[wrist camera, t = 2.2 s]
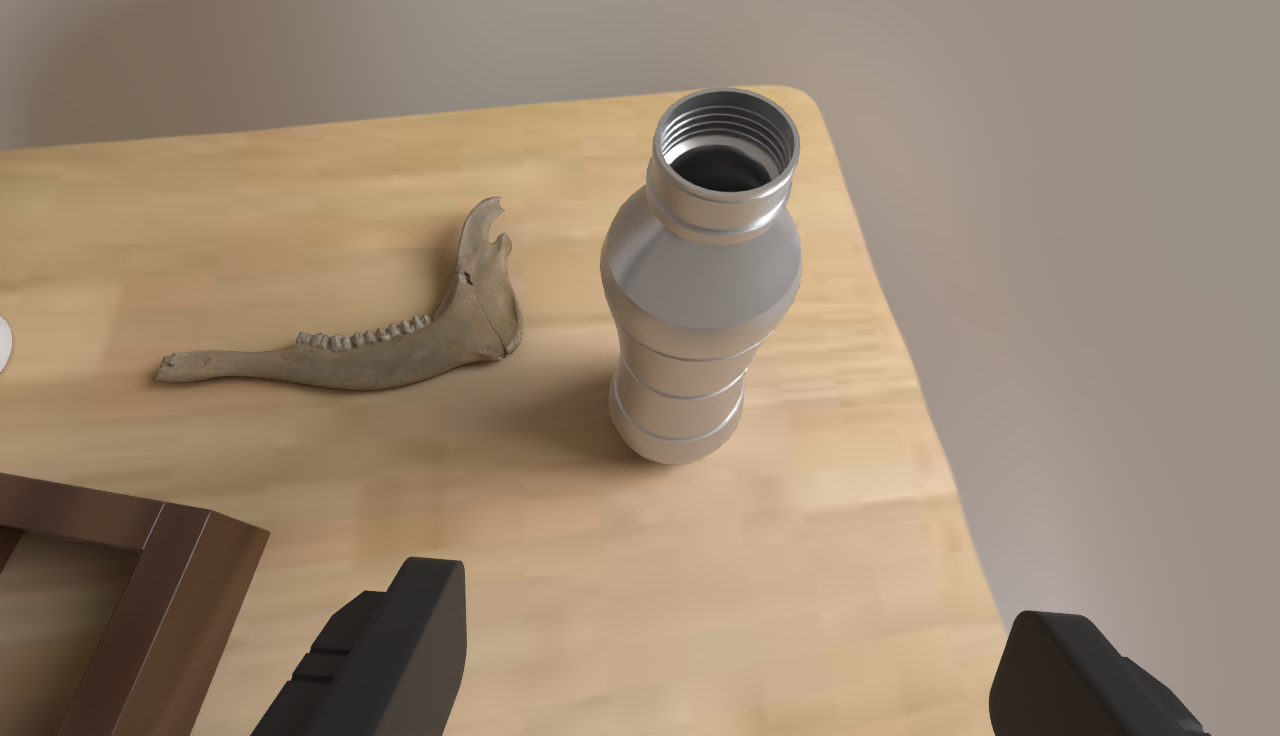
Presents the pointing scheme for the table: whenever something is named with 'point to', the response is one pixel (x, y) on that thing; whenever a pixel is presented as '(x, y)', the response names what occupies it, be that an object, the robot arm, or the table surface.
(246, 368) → the jawbone
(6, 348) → the mug
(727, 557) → the table surface
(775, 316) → the silver metal bottle
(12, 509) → the bottle holder
